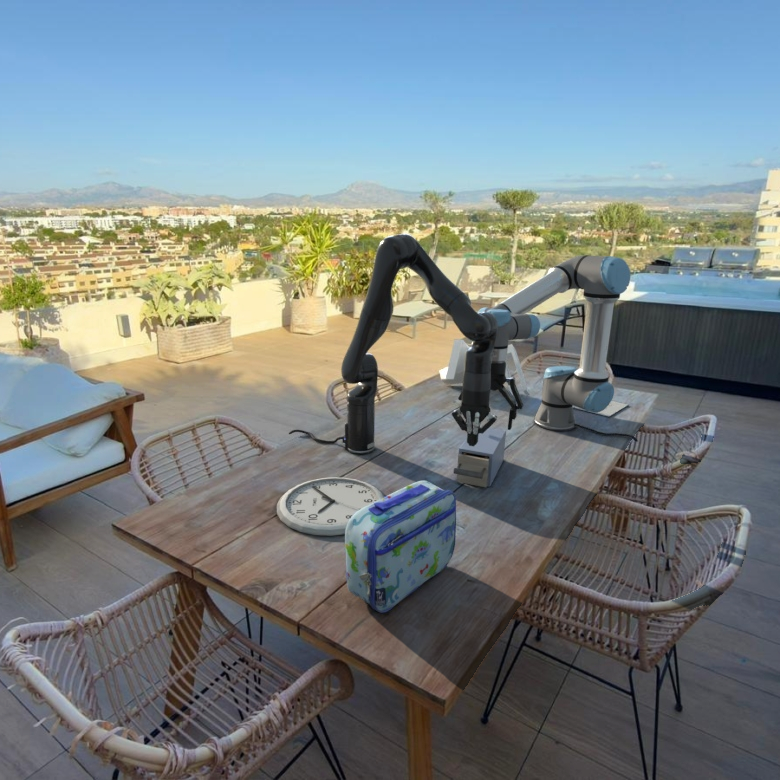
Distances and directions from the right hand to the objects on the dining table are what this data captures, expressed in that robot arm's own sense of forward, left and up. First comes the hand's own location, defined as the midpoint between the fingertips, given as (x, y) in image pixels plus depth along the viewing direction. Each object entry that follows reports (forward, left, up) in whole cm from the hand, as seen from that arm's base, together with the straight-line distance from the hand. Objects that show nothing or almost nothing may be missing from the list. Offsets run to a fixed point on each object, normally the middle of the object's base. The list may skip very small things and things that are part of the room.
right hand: (488, 425), depth 167 cm
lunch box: (+21, +64, -13) cm, 69 cm away
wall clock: (+43, +34, -13) cm, 57 cm away
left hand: (+6, +21, +2) cm, 22 cm away
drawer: (+3, +12, -12) cm, 17 cm away
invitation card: (-53, -65, -13) cm, 85 cm away
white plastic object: (-1, -76, -13) cm, 78 cm away
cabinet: (+2, +6, -13) cm, 14 cm away
